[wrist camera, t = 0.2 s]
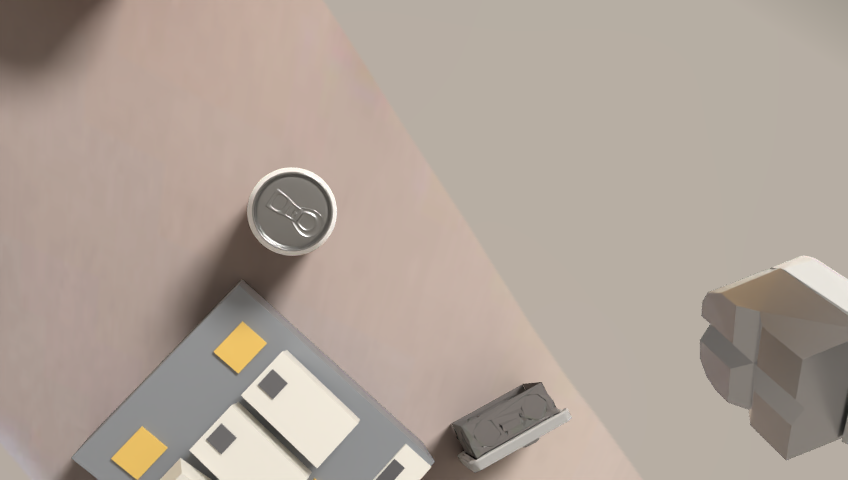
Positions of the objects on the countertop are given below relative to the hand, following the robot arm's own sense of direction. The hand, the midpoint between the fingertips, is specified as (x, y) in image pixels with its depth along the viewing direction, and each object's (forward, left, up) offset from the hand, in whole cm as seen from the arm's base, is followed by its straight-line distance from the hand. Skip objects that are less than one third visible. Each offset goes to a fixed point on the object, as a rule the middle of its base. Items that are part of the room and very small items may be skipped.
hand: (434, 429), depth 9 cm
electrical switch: (-23, 0, -54) cm, 59 cm away
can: (+3, -1, -54) cm, 54 cm away
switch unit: (-9, +15, -54) cm, 56 cm away
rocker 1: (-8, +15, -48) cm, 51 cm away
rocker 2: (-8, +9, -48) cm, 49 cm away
